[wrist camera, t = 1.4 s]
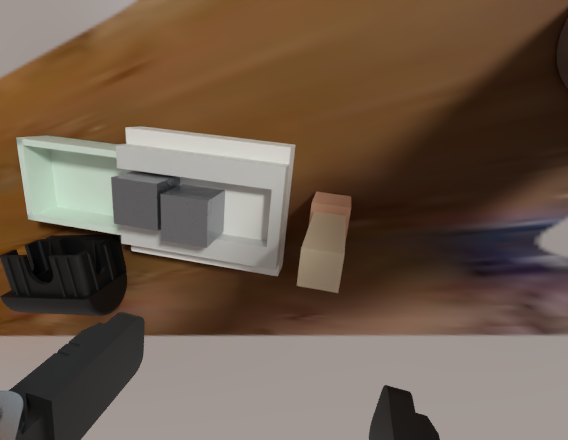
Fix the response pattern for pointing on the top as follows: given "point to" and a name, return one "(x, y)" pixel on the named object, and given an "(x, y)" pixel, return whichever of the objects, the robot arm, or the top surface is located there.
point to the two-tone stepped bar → (325, 242)
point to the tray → (69, 181)
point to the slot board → (226, 176)
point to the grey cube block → (192, 215)
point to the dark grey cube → (140, 198)
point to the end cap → (67, 275)
